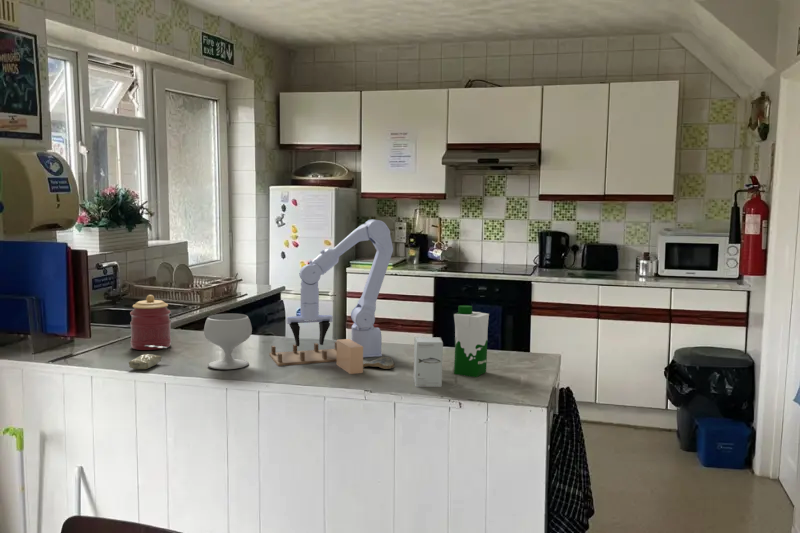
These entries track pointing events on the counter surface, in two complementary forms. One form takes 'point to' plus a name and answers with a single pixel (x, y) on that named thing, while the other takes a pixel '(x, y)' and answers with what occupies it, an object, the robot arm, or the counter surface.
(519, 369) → the counter surface
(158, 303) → the canister
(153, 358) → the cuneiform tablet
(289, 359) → the comb rack
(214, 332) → the chalice
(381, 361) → the ceramic fragment
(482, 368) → the milk carton
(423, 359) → the supplement box
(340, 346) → the tan rectangular block
